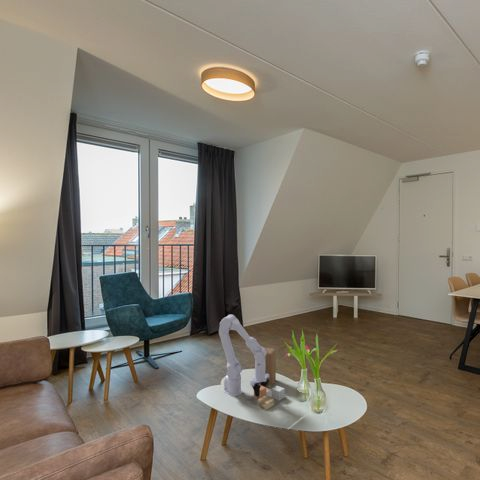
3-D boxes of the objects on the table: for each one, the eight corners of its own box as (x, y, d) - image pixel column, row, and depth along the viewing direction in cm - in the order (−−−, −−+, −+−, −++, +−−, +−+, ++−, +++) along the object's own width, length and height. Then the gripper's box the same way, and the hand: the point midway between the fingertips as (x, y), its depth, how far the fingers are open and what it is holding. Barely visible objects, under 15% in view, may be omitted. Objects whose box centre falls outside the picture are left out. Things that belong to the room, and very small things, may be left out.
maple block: (257, 405, 170) (257, 399, 170) (264, 400, 175) (264, 395, 175) (266, 409, 166) (266, 403, 166) (273, 404, 171) (273, 399, 171)
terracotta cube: (253, 396, 180) (253, 387, 179) (259, 393, 183) (259, 384, 183) (260, 399, 176) (260, 390, 176) (266, 396, 180) (266, 387, 180)
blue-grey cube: (271, 397, 179) (271, 388, 179) (277, 394, 182) (277, 385, 182) (279, 400, 175) (279, 391, 175) (284, 397, 179) (284, 388, 179)
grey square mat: (245, 400, 176) (245, 399, 176) (265, 389, 189) (265, 388, 189) (268, 411, 165) (268, 410, 165) (288, 398, 178) (288, 397, 178)
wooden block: (255, 384, 196) (255, 351, 195) (260, 377, 205) (261, 346, 205) (271, 387, 192) (271, 353, 192) (276, 380, 201) (276, 348, 201)
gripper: (257, 376, 171) (257, 401, 172) (273, 368, 182) (273, 392, 182) (247, 372, 176) (247, 397, 176) (263, 364, 187) (263, 388, 187)
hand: (260, 394), depth 180 cm, fingers closed on terracotta cube, 5 cm apart
